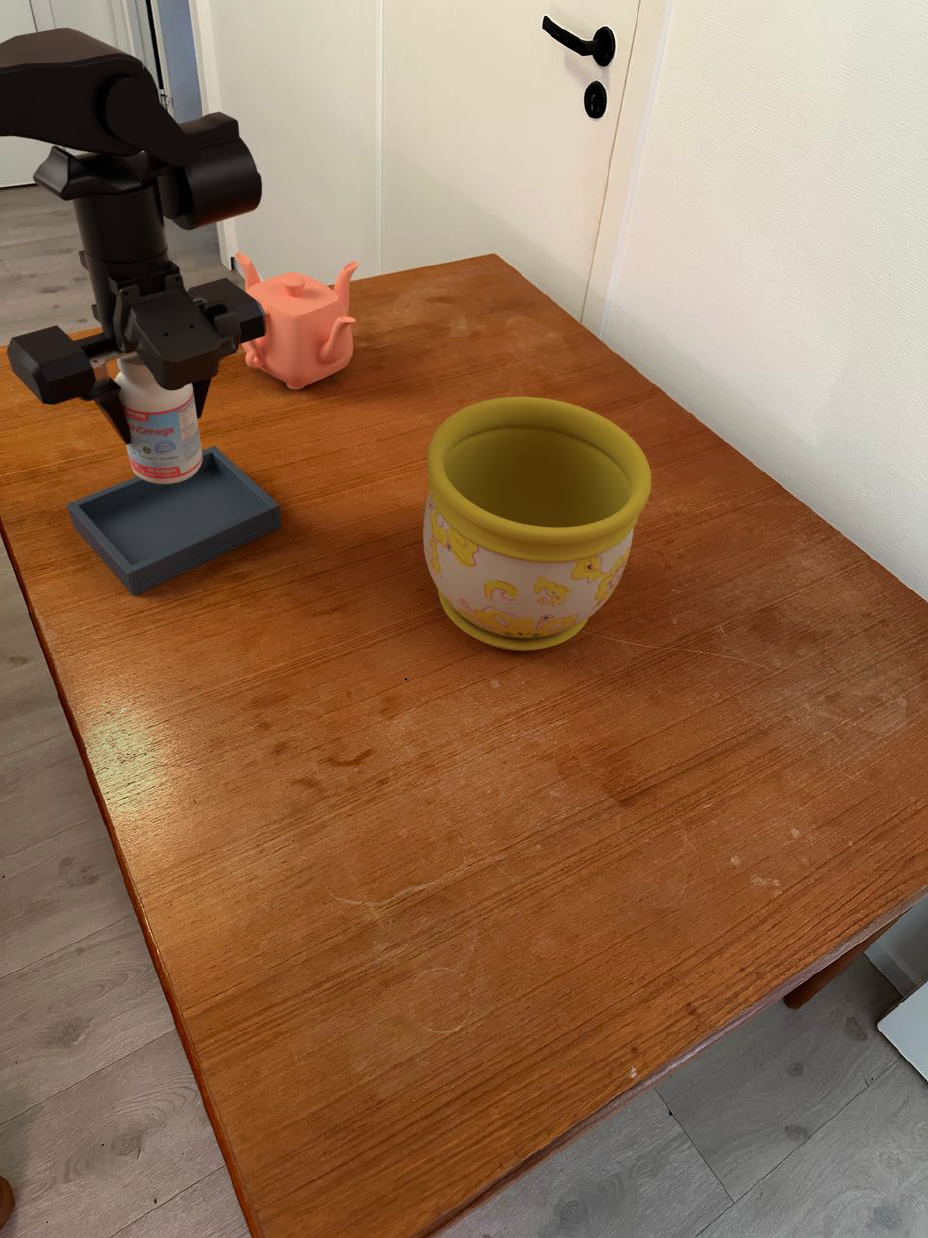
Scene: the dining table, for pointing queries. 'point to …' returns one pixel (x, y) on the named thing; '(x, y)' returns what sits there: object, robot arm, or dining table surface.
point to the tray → (174, 521)
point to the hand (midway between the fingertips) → (161, 428)
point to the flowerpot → (530, 517)
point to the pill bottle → (158, 425)
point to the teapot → (300, 325)
